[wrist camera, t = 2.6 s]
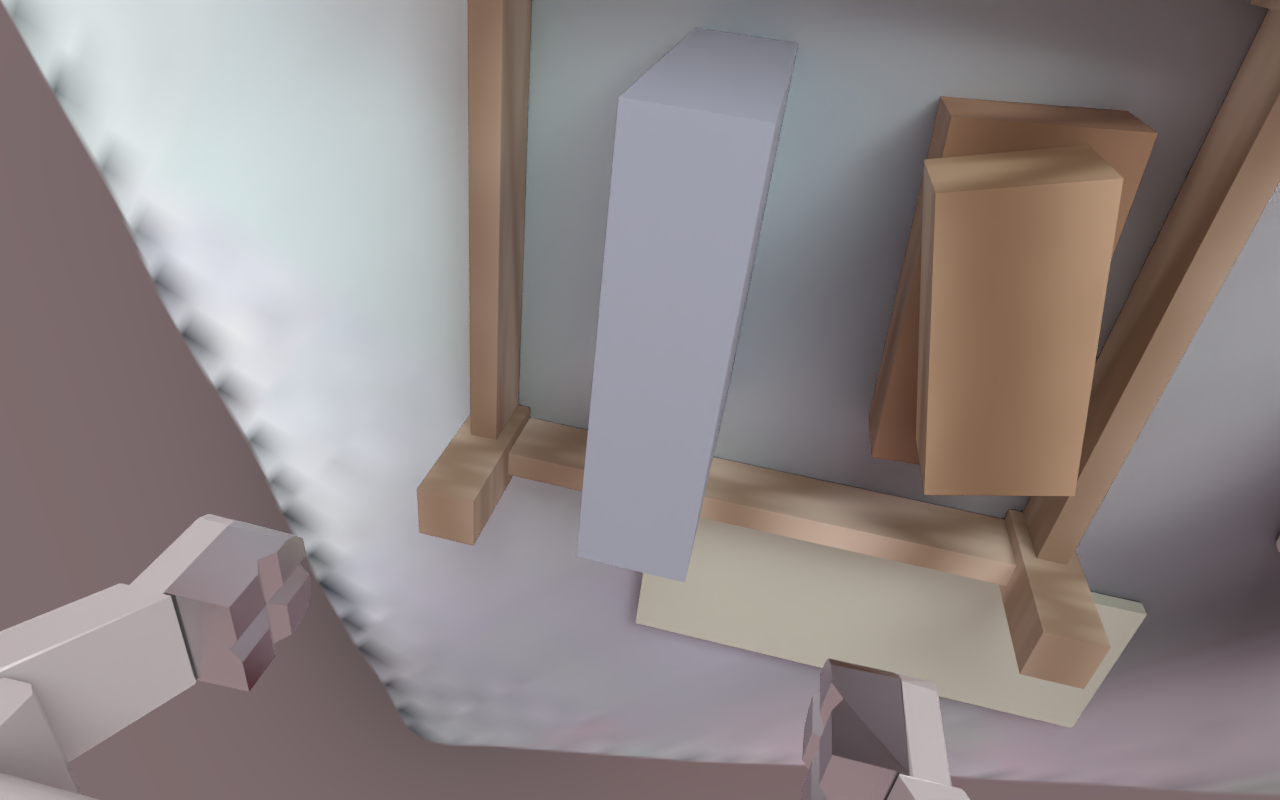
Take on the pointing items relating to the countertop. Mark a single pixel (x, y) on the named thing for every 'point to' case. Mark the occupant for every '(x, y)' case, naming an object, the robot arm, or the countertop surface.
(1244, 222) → the rack
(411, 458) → the countertop surface
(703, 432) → the lavender grey box
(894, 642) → the mat
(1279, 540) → the soap bottle
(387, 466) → the countertop surface
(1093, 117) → the offcut lower
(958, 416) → the offcut upper
